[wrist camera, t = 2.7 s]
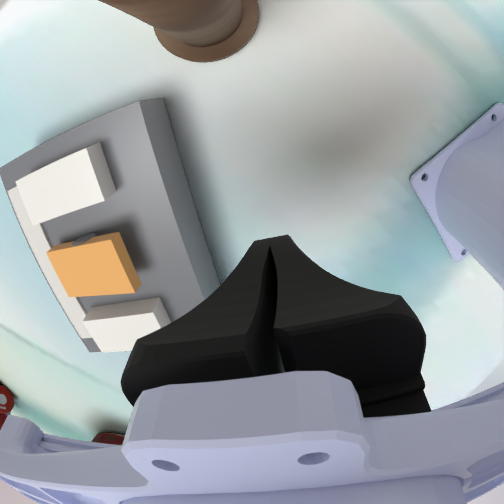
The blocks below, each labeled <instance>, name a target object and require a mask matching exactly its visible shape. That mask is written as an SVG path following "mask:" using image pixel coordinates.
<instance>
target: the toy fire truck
mask: <svg viewBox="0 0 504 504" xmlns="http://www.w3.org/2000/svg"><path fill="white" fill-rule="evenodd" d="M13 406H14V398H13V395H12V393H11V392H10V390H9V389H8V388H6V387H5V386H2V385H0V430H1V428H2V426H3V424H4V422H5V420H6V418H7V416H8V415H10V413H11V412H10V411H11V410H12V409H13Z"/></svg>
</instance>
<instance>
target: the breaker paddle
mask: <svg viewBox="0 0 504 504" xmlns="http://www.w3.org/2000/svg"><path fill="white" fill-rule="evenodd" d="M46 254H47V256H48V258H49V260H50V262H51V264H52V266H53V268H54V270H55V272H56V274H57V276H58V278H59V279H60V281H61V283H62V285H63V287H64V289H65V291H66V293H67V294H68V296H69V297H82V296H98V295H114V294H129V293H136V291H137V290H138V288H139V287H140V285H141V284H142V283H141V281H140V279H139V277H138V274H137V272H136V270H135V268H134V265H133V263H132V261H131V259H130V256H129V254H128V252H127V249H126V247H125V245H124V242H123V240H122V237H121V235H120V232H115V233H110V234H105V235H101V236H96V235H95V233H88V234H85V235H83V236H81V237H79V238H78V239H76V240H75V241H72V242H68V243H63V244H58V245H54V246H53V247H52V248H51V249H50V250H48V251H47V252H46Z"/></svg>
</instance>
